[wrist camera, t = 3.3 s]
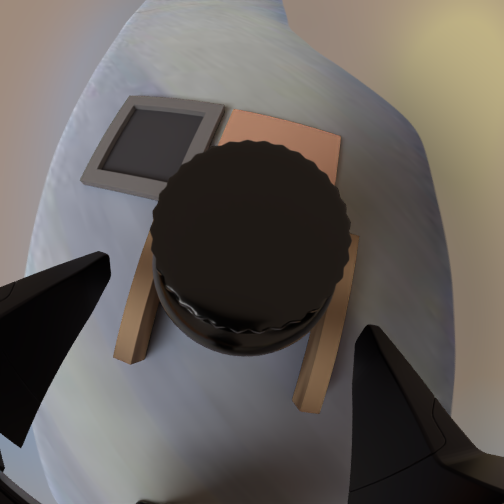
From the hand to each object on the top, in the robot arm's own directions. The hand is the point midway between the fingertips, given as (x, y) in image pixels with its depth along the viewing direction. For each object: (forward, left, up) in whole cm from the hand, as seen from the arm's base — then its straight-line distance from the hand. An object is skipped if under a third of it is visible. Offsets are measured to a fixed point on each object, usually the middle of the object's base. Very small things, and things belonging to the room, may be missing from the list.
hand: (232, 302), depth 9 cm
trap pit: (+12, +8, -9) cm, 17 cm away
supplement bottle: (+2, 0, -9) cm, 9 cm away
